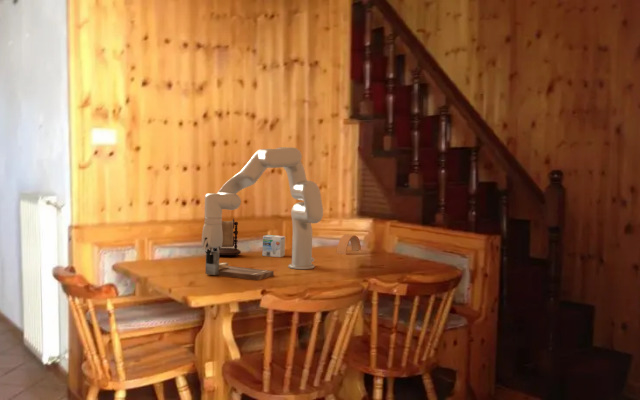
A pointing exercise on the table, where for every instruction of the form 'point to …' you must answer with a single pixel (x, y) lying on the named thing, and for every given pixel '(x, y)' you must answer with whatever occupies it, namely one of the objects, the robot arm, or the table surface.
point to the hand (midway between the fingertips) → (212, 262)
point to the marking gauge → (215, 264)
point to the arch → (344, 243)
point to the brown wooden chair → (229, 238)
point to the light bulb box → (273, 246)
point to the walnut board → (245, 273)
